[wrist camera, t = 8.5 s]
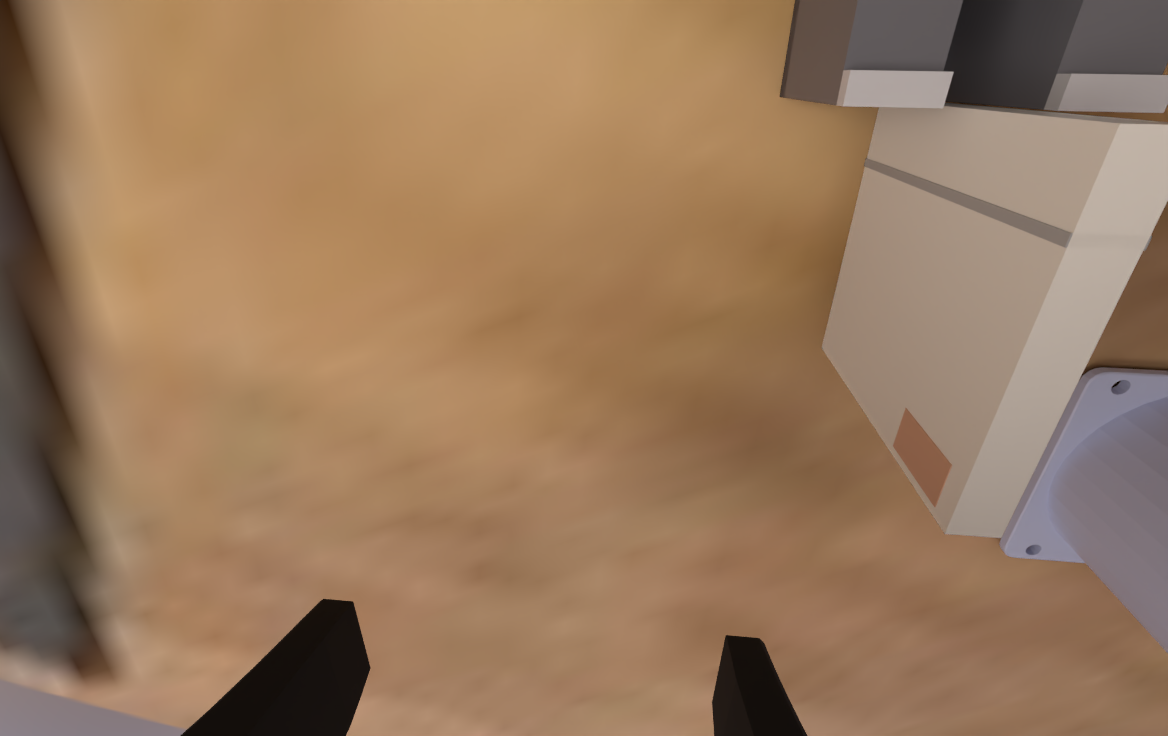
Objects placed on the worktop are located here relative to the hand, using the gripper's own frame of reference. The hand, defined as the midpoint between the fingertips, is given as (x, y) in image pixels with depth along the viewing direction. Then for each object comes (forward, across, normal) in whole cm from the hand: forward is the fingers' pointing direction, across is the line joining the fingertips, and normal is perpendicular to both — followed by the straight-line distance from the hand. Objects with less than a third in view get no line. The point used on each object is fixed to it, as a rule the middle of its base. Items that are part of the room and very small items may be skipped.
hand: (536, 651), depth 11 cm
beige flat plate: (+9, -8, -6) cm, 14 cm away
